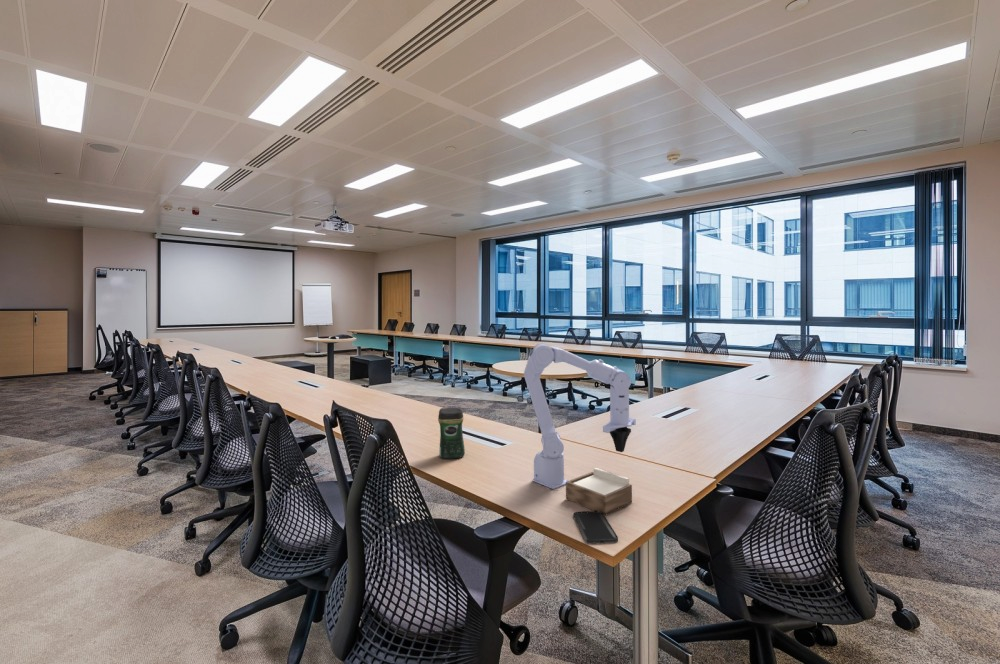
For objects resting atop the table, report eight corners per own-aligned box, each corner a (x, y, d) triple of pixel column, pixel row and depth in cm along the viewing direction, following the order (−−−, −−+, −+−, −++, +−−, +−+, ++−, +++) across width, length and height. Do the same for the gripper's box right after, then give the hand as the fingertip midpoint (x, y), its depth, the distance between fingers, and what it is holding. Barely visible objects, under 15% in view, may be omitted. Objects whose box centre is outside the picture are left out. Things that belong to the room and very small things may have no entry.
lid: (571, 486, 128) (571, 476, 128) (595, 476, 135) (595, 467, 135) (605, 499, 119) (605, 488, 119) (629, 487, 126) (628, 478, 126)
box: (566, 498, 129) (565, 481, 128) (592, 487, 136) (592, 471, 136) (605, 515, 118) (605, 496, 118) (631, 502, 125) (631, 484, 125)
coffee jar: (464, 452, 173) (463, 405, 172) (464, 459, 165) (463, 409, 165) (439, 453, 173) (438, 406, 172) (438, 460, 165) (437, 410, 164)
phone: (601, 510, 119) (619, 539, 104) (601, 514, 119) (619, 543, 104) (572, 511, 119) (586, 540, 104) (572, 516, 119) (586, 545, 104)
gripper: (616, 414, 131) (616, 459, 132) (643, 406, 141) (644, 449, 141) (597, 410, 137) (597, 453, 138) (624, 403, 146) (625, 444, 147)
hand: (619, 451), depth 140 cm, fingers closed
